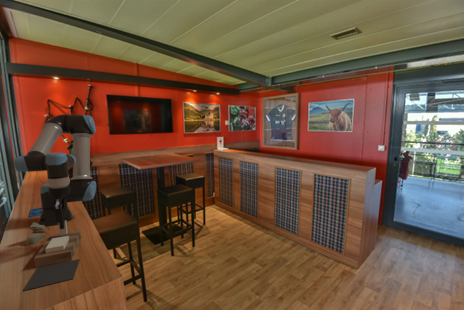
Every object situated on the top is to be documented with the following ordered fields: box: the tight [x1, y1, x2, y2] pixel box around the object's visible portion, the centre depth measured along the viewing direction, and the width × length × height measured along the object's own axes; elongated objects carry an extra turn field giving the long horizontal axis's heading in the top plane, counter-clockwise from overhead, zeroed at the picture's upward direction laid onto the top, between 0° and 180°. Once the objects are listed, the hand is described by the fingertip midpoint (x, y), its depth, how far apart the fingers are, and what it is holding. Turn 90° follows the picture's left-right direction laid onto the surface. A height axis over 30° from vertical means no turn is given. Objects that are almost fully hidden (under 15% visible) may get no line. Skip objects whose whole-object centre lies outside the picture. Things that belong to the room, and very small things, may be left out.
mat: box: [22, 258, 81, 292], centre depth 82 cm, size 13×14×1 cm
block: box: [45, 236, 69, 253], centre depth 93 cm, size 9×6×2 cm, turn 26°
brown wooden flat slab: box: [33, 230, 82, 269], centre depth 96 cm, size 20×12×4 cm, turn 26°
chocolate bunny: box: [25, 222, 46, 247], centre depth 104 cm, size 6×8×10 cm
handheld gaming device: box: [28, 206, 42, 218], centre depth 139 cm, size 8×1×15 cm
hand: (63, 234), depth 102 cm, fingers closed
